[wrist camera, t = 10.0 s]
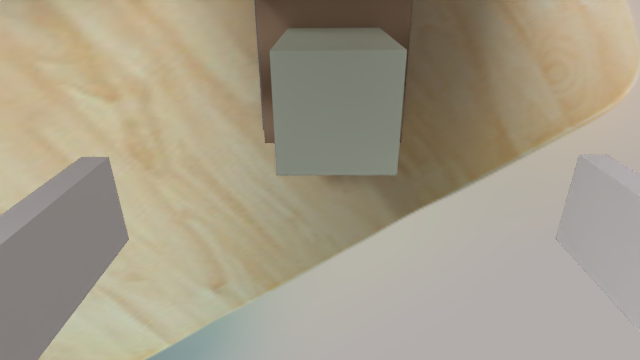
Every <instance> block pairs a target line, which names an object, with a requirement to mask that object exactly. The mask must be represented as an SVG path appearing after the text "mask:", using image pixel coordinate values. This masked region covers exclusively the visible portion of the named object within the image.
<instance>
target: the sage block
mask: <svg viewBox="0 0 640 360" xmlns="http://www.w3.org/2000/svg"><path fill="white" fill-rule="evenodd" d="M406 57H407V50H406V49H405V48H404V47H403V46H401V45H400V44H399V43H398V42H397V41H395V40H394V39H393V38H392V37H390V36H389V35H388V34H387V33H386V32H384V31H383V30H382V29H381V28H288V29H287V30H286V31H285V32H284V34H283V35H282V36H281V37H280V39H279V40H278V41H277V42H276V44H275V45H274V46H273V47H272V48H271V50H270V68H271V85H272V103H273V120H274V138H275V155H276V173H277V175H397V169H398V157H399V144H400V132H401V119H402V107H403V94H404V82H405V69H406Z"/></svg>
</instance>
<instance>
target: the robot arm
mask: <svg viewBox="0 0 640 360" xmlns="http://www.w3.org/2000/svg"><path fill="white" fill-rule="evenodd" d="M128 240H129V238H128V234H127V230H126V226H125V222H124V217H123V213H122V209H121V205H120V201H119V197H118V193H117V189H116V185H115V181H114V177H113V173H112V169H111V165H110V161H109V157H81V158H80V159H78V160H77V161H75V162H74V163H73V164H71V165H70V166H68V167H67V168H66V169H64V170H63V171H62V172H60V173H59V174H57V175H56V176H55V177H53V178H52V179H50V180H49V181H48V182H46V183H45V184H44V185H42V186H41V187H39V188H38V189H37V190H35V191H34V192H32V193H31V194H30V195H28V196H27V197H26V198H24V199H23V200H21V201H20V202H19V203H17V204H16V205H14V206H13V207H12V208H10V209H9V210H8V211H6V212H5V213H3V214H2V215H1V216H0V360H38V359H39V357H40V356H41V355H42V353H43V352H44V351H45V349H46V348H47V347H48V345H49V344H50V343H51V341H52V340H53V339H54V338H55V336H56V335H57V334H58V332H59V331H60V330H61V328H62V327H63V326H64V324H65V323H66V322H67V320H68V319H69V318H70V316H71V315H72V314H73V312H74V311H75V310H76V309H77V307H78V306H79V305H80V303H81V302H82V301H83V299H84V298H85V297H86V295H87V294H88V293H89V291H90V290H91V289H92V287H93V286H94V285H95V283H96V282H97V281H98V280H99V278H100V277H101V276H102V274H103V273H104V272H105V270H106V269H107V268H108V266H109V265H110V264H111V262H112V261H113V260H114V258H115V257H116V256H117V254H118V253H119V252H120V250H121V249H122V248H123V247H124V245H125V244H126V243H127V241H128ZM556 240H557V241H558V242H559V243H560V244H561V245H562V246H563V247H564V249H565V250H566V251H567V252H568V253H569V254H570V255H571V256H572V257H573V258H574V259H575V261H576V262H577V263H578V264H579V265H580V266H581V267H582V268H583V270H584V271H585V272H586V273H587V274H588V275H589V276H590V277H591V278H592V279H593V281H594V282H595V283H596V284H597V285H598V286H599V287H600V288H601V290H602V291H603V292H604V293H605V294H606V295H607V296H608V297H609V298H610V300H611V301H612V302H613V303H614V304H615V305H616V306H617V307H618V308H619V309H620V311H621V312H622V313H623V314H624V315H625V316H626V317H627V318H628V320H629V321H630V322H631V323H632V324H633V325H634V326H635V327H636V328H637V329H638V331H639V332H640V175H639V174H638V173H636V172H634V171H633V170H631V169H629V168H628V167H626V166H624V165H623V164H621V163H620V162H618V161H616V160H615V159H613V158H611V157H610V156H608V155H579V157H578V160H577V164H576V168H575V171H574V175H573V178H572V182H571V185H570V189H569V192H568V196H567V199H566V203H565V207H564V210H563V214H562V217H561V221H560V224H559V228H558V232H557V235H556Z"/></svg>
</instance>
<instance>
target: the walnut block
mask: <svg viewBox="0 0 640 360" xmlns="http://www.w3.org/2000/svg"><path fill="white" fill-rule="evenodd" d="M255 1H256V15H257V30H258V45H259V60H260V74H261V89H262V104H263V119H264V133H265V143H275V138H274V120H273V103H272V85H271V68H270V50H271V48H272V47H273V46H274V45H275V44H276V42H277V41H278V40H279V39H280V37H281V36H282V35H283V34H284V32H285V31H286V30H287V29H288V28H381V29H382V30H383V31H384V32H386V33H387V34H388V35H389V36H390V37H392V38H393V39H394V40H395V41H397V42H398V43H399V44H400V45H401V46H403V47H404V48H405V49H406V50H407V57H406V69H405V82H404V94H403V107H402V119H401V132H400V143H401V135H402V123H403V110H404V98H405V86H406V74H407V61H408V49H409V37H410V25H411V12H412V0H255Z"/></svg>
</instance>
